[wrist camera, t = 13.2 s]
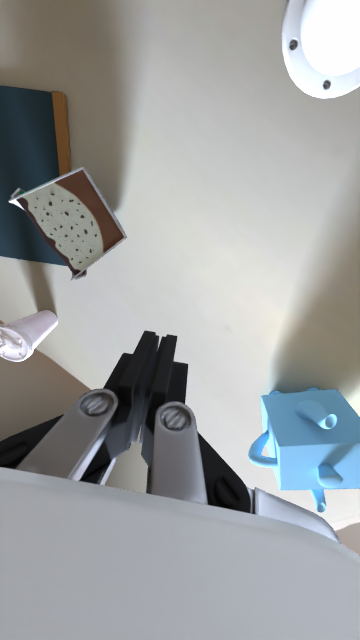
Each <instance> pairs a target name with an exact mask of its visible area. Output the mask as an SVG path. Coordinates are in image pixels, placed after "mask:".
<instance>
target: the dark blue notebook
mask: <svg viewBox="0 0 360 640" xmlns="http://www.w3.org/2000/svg"><path fill="white" fill-rule="evenodd" d="M69 172H71V158H70V145H69V131H68V117H67V104H66V95H65V94H64V93H63V92H56V91H52V92H46V91H38V90H31V89H23V88H16V87H8V86H1V85H0V256H3V257H10V258H16V259H23V260H30V261H36V262H43V263H50V264H57V265H63V266H67V264H66V263H65V262H64V261H63V259H62V258H61V257H60V256H59V255H58V254H57V253H56V252H55V251H54V250H53V249H52V248H51V247H50V246H49V245H48V244H47V243H46V242H45V240H44V239H43V237H42V236H41V234H40V232H39V230H38V229H37V227H36V225H35V224H34V222H33V221H32V219H31V218H30V217H29V215H28V214H27V213H26V211H25V210H23V209H22V208H20V207H19V206H17V205H15V204H13V203H11V202H8V201H9V200H10V199H12V197H11V195H12V194H13V193H14V192H15V191H16V190H17V189H18V188H20V189H22V190H24V191H25V192H27V191H29V190H31V189H34V188H36V187H38V186H40V185H42V184H45V183H47V182H49V181H51V180H53V179H55V178H58V177H60V176H62V175H64V174H66V173H69Z"/></svg>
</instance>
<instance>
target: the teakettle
mask: <svg viewBox="0 0 360 640" xmlns="http://www.w3.org/2000/svg"><path fill="white" fill-rule="evenodd" d="M261 403H262V418H263V434H262V435H261V436H260V437H259V438H258V439H257V440H256V441H255V442H254V443H253V444H252V446H251V448H250V450H249V454H248V456H249V459H250V461H251V462H252V463H253V464H255V465H258V466H263V467H273V469H274V472H275V476H276V479H277V482H278V486H279V489H280V490H311V493H312V495H313V498H314V501H315V506H316V509H317V511H318V512H324V511H325V509H326V502H325V497H324V491H323V489H358V488H360V417H359V416H358V415H357V413H356V412H355V411H354V410H353V408H352V407H351V406H350V405H349V403H348V402H347V401H346V400H345V398H344V397H343V396H342V395H341V393H340V392H339V391H338V390H337V389H329V390H320V389H319V388H316V387H311V388H309V389H307V390H306V392H295V393H284V394H283V393H282V392H280V391H273V392H271V393H270V394H269V395H262V396H261ZM265 444H266V445H267V449H268V452H269V455H270V457H265V456H262V455H261V452H262V449H263V447H264V445H265Z"/></svg>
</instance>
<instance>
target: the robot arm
mask: <svg viewBox="0 0 360 640" xmlns="http://www.w3.org/2000/svg"><path fill="white" fill-rule="evenodd" d="M290 47H292V49H293V50H291V49H290ZM282 49H283V55H284V60H285V65H286V67H287V70H288V72H289V75H290V76H291V78H292V79H293V81H294V82H295V84H296V85H297V86H298V87H299V88H300V89H301V90H303V91H304V92H305V93H307V94H309V95H311V96H314V97H319V98H334V97H337V96H341V95H344V94H346V93H348V92H350V91H352V90H354V89H356V88H357V87H359V86H360V0H288V2H287V6H286V10H285V15H284V19H283V29H282ZM323 86H324V87H325V89H323ZM176 342H177V336H174V335H168V334H167V336H166V337H163V336H162V339H161V342H160V345H159V348H158V343H159V336H157V335H156V332H151V331H144V333H143V335H142V337H141V339H140V341H139V343H138V345H137V347H136V349H135V351H134V353H133V354H128V353H123V354H122V356H121V358H120V360H119V361H118V363H117V365H116V367H115V368H114V370H113V372H112V374H111V375H110V377H109V379H108V381H107V382H106V384H105V386H104V388H103V389H94V390H90V391H88V392H86V393H84V394H83V395H82V396H81V397H80V398H79V399H78V400H77V401H76V402H75V403H74V404H73V405H72V406H71V408H70V409H69V410H68V411H67V412H66V413H65V414H63V415H61V416H58V417H56V418H54V419H51V420H49V421H46V422H44V423H42V424H39V425H37V426H35V427H32V428H30V429H27V430H25V431H22V432H20V433H18V434H15V435H13V436H10V437H8V438H7V439H5V440H2V441H1V442H0V640H360V555H358V554H357V553H355V552H353V551H352V550H351V549H349V548H347V547H345V546H344V545H342V544H341V542H340V539H339V537H338V536H337V534H336V533H335V531H334V530H333V528H332V527H331V526H330V525H329V524H328V523H327V522H326V521H325V520H324V519H323V518H322V517H320V516H318V515H317V514H315V513H313V512H311V511H309V510H306V509H304V508H302V507H299V506H297V505H295V504H293V503H290V502H288V501H286V500H283V499H281V498H279V497H277V496H274V495H272V494H270V493H267V492H265V491H263V490H261V489H258V488H256V487H255V489H254V490H252V489H250V488H248V487H246V485H245V484H244V483H243V481H242V480H241V479H240V477H239V476H238V475H237V474H236V473H235V472H234V471H233V470H232V469H231V468H230V467H229V465H228V464H227V463H226V462H225V461H224V460H223V459H222V458H221V457H220V456H219V454H218V453H217V452H216V451H215V450H214V449H213V448H212V447H211V446H210V445H209V444H208V442H207V441H206V440H205V439H204V438H203V437H202V436H201V435H200V434H199V433H198V431H197V426H196V419H195V416H194V413H193V411H192V410H191V409H190V408H189V407H188V406H187V405H185V397H186V385H187V373H188V364H185V363H180V362H174V361H173V360H174V354H175V348H176ZM140 427H141V434H140V444H142V452H141V455H142V457H143V458H144V460H145V462H146V463H147V465H148V474H147V489H146V493H141V492H135V491H130V490H125V489H119V488H114V487H109V486H104V484H105V482H106V480H107V478H108V476H109V474H110V472H111V470H112V468H113V466H114V464H115V461H116V457H118V456H119V455H121V454H122V453H124V452H125V450H126V451H129V448H130V445H131V443H136V441H137V438H138V434H139V431H140Z"/></svg>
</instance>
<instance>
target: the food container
mask: <svg viewBox="0 0 360 640" xmlns="http://www.w3.org/2000/svg"><path fill="white" fill-rule="evenodd" d="M11 197H12V199H10V200H9V201H8V202H11V203H13V204H15V205H17V206H19V207H20V208H22V209H23V210H25V211H26V213H27V214H28V215H29V217H30V218H31V219H32V221H33V222H34V224H35V225H36V227H37V229H38V230H39V232H40V234H41V236H42V237H43V239H44V240H45V242H46V243H47V244H48V245H49V246H50V247H51V248H52V249H53V250H54V251H55V252H56V253H57V254H58V255H59V256H60V257H61V258H62V259H63V261H64V262H65V263H66V264H67V266H68V267H69V268H70V270H71V271H72V279H74V278H75V279H79V278H82V277H85V276H86V274H87V270H86V269H87V268H88V267H90V266H91V265H92V264H94V263H95V262H96V261H97V260H99V259H100V258H101V257H103V256H104V255H105V254H106V253H108V252H109V251H110V250H112V249H113V248H114V247H115V246H117V245H118V244H119V243H121V242H122V241H123V240H124V239H126V238H127V236H126V234H125V232H124V230H123V229H122V227H121V225H120V223H119V222H118V220H117V218H116V216H115V215H114V213H113V211H112V210H111V208H110V207H109V205H108V203H107V202H106V200H105V199H104V197H103V195H102V194H101V192H100V191H99V189H98V188H97V186H96V184H95V183H94V181H93V180H92V178H91V177H90V175H89V174H88V173H87V171H86V170H85V168H84V167H83V166H82V167H79V168H77V169H75V170H73V171H71V172H69V173H66V174H64V175H62V176H60V177H58V178H55V179H53V180H51V181H49V182H47V183H45V184H42V185H40V186H38V187H36V188H34V189H31V190H29V191H27V192H25V191H24V190H22V189H20V188H18V189H17V190H16V191H15V192H14V193H13V194H12V195H11ZM72 279H71V280H72Z"/></svg>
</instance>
